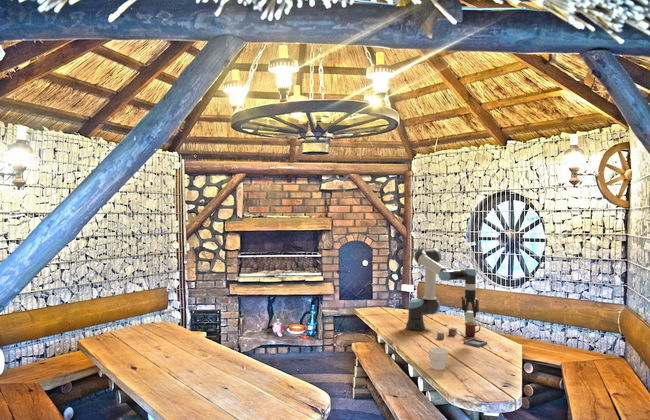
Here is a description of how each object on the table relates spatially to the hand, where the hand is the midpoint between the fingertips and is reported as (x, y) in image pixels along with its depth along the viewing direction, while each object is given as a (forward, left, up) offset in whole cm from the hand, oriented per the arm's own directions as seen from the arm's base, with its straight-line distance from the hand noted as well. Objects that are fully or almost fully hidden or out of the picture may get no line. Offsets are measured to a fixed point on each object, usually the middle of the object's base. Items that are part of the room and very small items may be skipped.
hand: (470, 321), depth 379 cm
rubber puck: (-21, -7, -16) cm, 27 cm away
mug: (-8, +16, -16) cm, 24 cm away
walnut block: (-21, +9, -16) cm, 28 cm away
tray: (+4, 0, -16) cm, 17 cm away
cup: (+17, -66, -16) cm, 70 cm away
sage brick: (0, 0, 0) cm, 0 cm away
